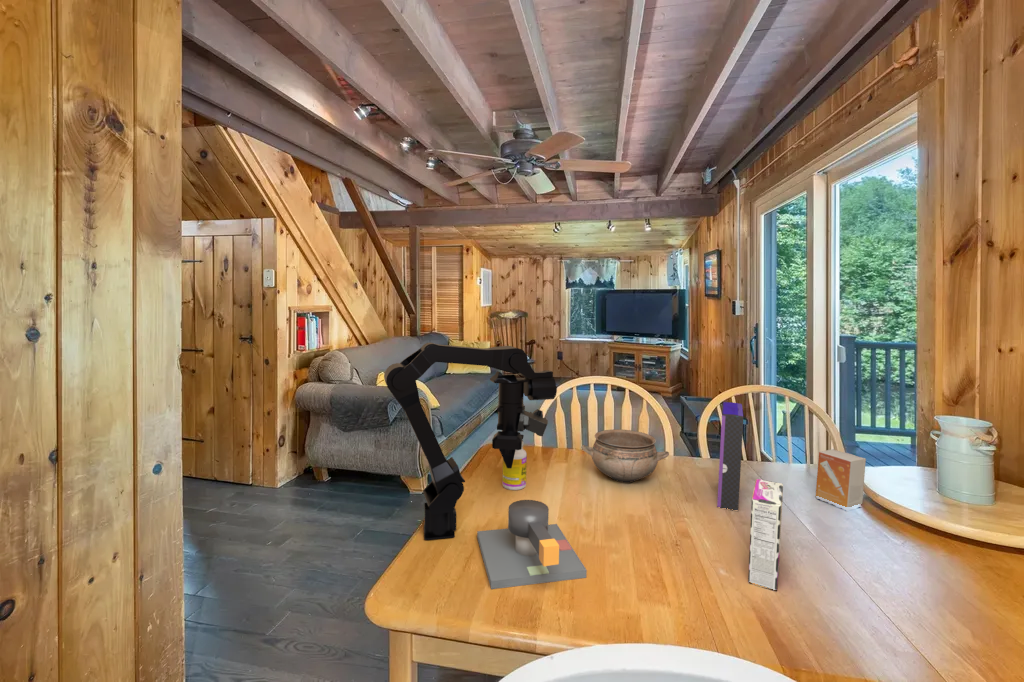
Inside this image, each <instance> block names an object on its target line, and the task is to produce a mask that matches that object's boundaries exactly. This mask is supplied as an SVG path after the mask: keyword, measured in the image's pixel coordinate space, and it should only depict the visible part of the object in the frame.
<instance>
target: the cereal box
mask: <svg viewBox="0 0 1024 682" xmlns="http://www.w3.org/2000/svg"><path fill="white" fill-rule="evenodd" d="M720 427H721V429H720V445H719V446H720V448H719V463H718V464H719V466H718V483H717V484H718V486H717V504H716V505H717V506H716V508H717V507H720V508H719V509H722V508H726V509H725V510H727V508H728V509H733V510H738V511H739V503H740V487H741V485H740V483H741V468H742V467H741V466H742V449H743V432H744V431H743V430H744V412H743V404H742V403H738V402H729V401H728V402H727V401H723V402H722V411H721V426H720ZM733 510H732V511H733Z"/></svg>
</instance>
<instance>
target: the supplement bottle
mask: <svg viewBox="0 0 1024 682" xmlns="http://www.w3.org/2000/svg"><path fill="white" fill-rule="evenodd" d="M527 457H528V456H527V451H526V450H525V449H524V441H523V442H522V448H521V449H520V450H515V455H514V459H513V464H512V468H507V467H506V465H505V462H504V460H503V459H502V487H503V488H504V489H506V490H510V491H518V490H523V489H524V488H525V487H526V486H527Z"/></svg>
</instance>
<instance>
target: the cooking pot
mask: <svg viewBox="0 0 1024 682" xmlns="http://www.w3.org/2000/svg"><path fill="white" fill-rule="evenodd" d="M594 438H595V441H594V443H593V446H592V447H591V446H588V445H584V444H582V445H581V448H580V449H582V450H583V452H585V453H586V454H588V455H589V456H591V458H592V462H593V464H594V465H595V467H596V468H597V469H598V470H599V471H600V472H601V473H603V474H605V475H606V476H608V477H609V478H611V479H612V480H614V481H616V482H619V483H626V484H628V483H633V482H635V481H638V480H640V479H643V478H645V477H648V476H649V475H651V474H652V473H653V472H654V470H656V468H657V465H658V462H659V461H661V460H663V459H666V458H668V457H669V456H670V452H669V451H657V448H656V445H655V444H656V442H657V439H656V438H655V437H654V436H653V435H650V434H648V433H645V432H642V431H637V430H631V429H621V428H620V429H618V428H617V429H616V428H615V429H605V430H600V431H597V432H595V433H594Z"/></svg>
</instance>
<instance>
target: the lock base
mask: <svg viewBox="0 0 1024 682" xmlns="http://www.w3.org/2000/svg"><path fill="white" fill-rule="evenodd" d="M547 532H548V533H549V534H550V536H551V537H552V539H555V540H556V542H557V543H558V544H559V564H557V565H550V566H543V565H542V563H541V561H540V560H539V555H538V553H537V552H536V550H535V548H534V547H533V545H532V543H531V542H530V540H529V538H524V537H519V536H516V535H514V534H512V533H511V532H510V531H509V529H508V527H507V528H501V529H499V528H498V529H491V530H490V529H489V530H488V529H487V530H477V531H476V534H477V535H476V539H477V542H478V546H479V551H480V554H481V556H482V560H483V561H482V562H483V565H484V568H485V572H486V575H487V579H488V583H489V586H490V589H491V590H495V589H503V588H512V587H521V586H529V585H535V584H544V583H546V584H547V583H554V582H562V581H563V582H564V581H570V580H578V579H586V578H587V571H588V570H587V568H586V567H585V565H584V563H583V562H582V560H581V559H580V557H579V556H578V554H577V552H576V551H575V550H574V548H573V547H572V546H571V544H570V542H569V541H568V539H567V538H566V536H565V534H564V533H563V531H562V529H561V528H560V526H559V525H558V524H557V523H553V524H550V523H549V524H548V531H547Z"/></svg>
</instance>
